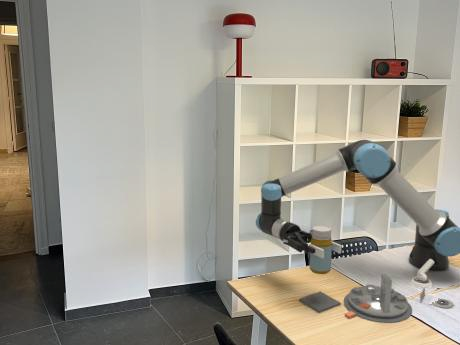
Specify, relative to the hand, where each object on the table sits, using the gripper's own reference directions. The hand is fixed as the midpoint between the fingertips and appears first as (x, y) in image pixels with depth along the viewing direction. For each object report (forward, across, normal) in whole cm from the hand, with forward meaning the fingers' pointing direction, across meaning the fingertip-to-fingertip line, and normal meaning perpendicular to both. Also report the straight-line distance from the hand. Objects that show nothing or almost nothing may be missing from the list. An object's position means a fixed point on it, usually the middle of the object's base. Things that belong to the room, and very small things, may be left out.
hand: (331, 251), depth 145 cm
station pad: (-5, 0, -20) cm, 21 cm away
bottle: (-5, 0, -9) cm, 10 cm away
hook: (+5, -42, -20) cm, 47 cm away
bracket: (+16, -34, -21) cm, 43 cm away
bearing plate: (+7, -15, -20) cm, 26 cm away
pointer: (+7, -2, -20) cm, 22 cm away
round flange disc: (+7, -15, -20) cm, 26 cm away
